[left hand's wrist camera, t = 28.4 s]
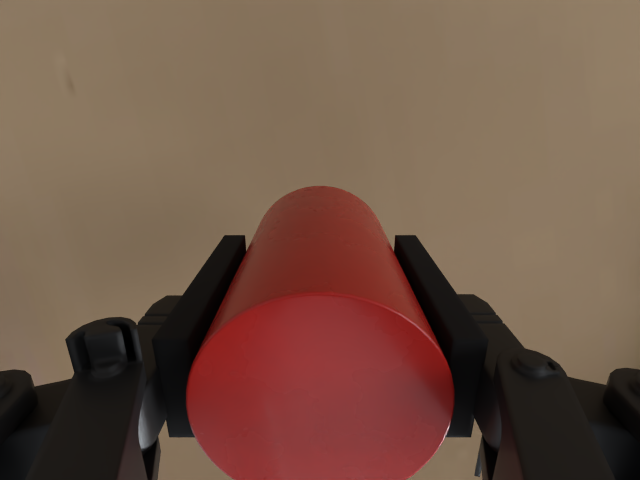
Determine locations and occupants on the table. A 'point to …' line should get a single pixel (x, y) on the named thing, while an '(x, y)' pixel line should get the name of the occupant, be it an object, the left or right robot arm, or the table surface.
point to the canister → (320, 354)
